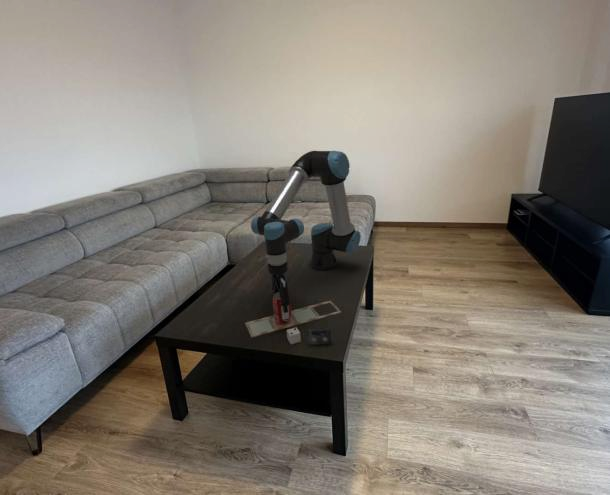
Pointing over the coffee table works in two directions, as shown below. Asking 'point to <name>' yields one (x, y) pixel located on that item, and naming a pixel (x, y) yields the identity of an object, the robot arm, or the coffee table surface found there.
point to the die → (293, 335)
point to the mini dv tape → (319, 336)
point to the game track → (297, 318)
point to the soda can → (279, 309)
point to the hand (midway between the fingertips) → (282, 312)
